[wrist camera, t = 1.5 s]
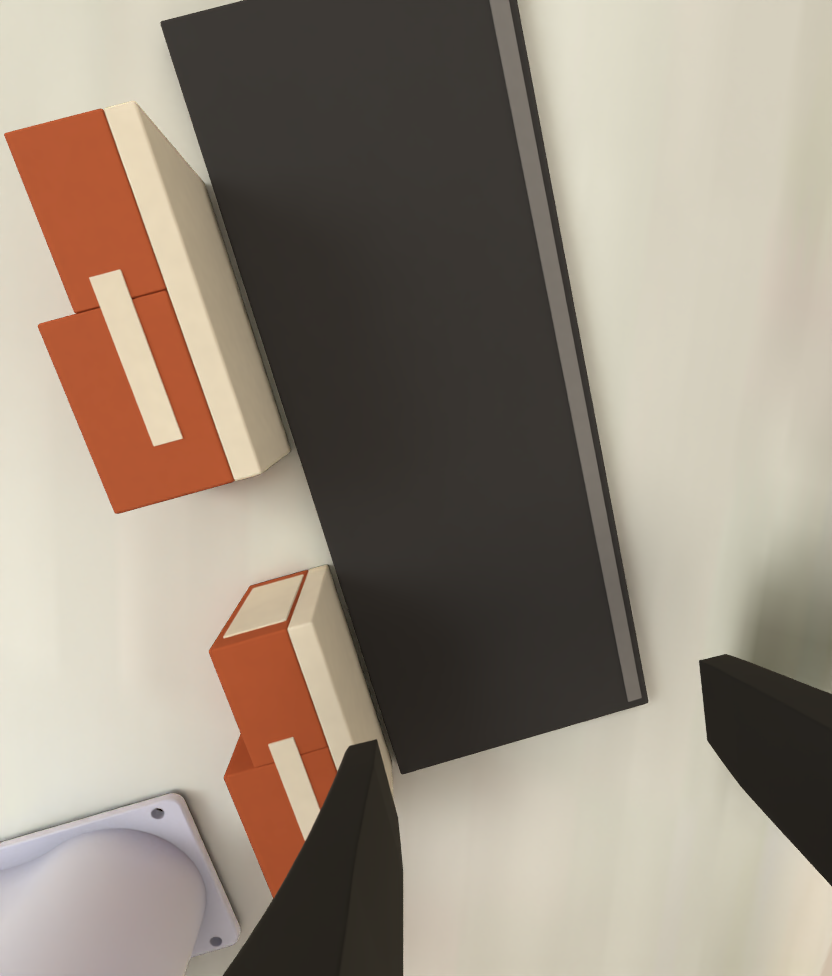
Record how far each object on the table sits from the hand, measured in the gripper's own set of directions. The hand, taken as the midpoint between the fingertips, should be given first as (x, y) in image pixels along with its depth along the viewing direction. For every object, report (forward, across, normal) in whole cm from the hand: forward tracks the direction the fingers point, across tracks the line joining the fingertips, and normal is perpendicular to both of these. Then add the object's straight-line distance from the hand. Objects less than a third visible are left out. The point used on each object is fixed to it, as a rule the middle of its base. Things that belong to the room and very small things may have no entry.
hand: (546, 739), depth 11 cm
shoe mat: (+10, 0, -6) cm, 12 cm away
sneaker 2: (+10, +8, -11) cm, 17 cm away
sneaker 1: (+10, +7, +3) cm, 12 cm away
